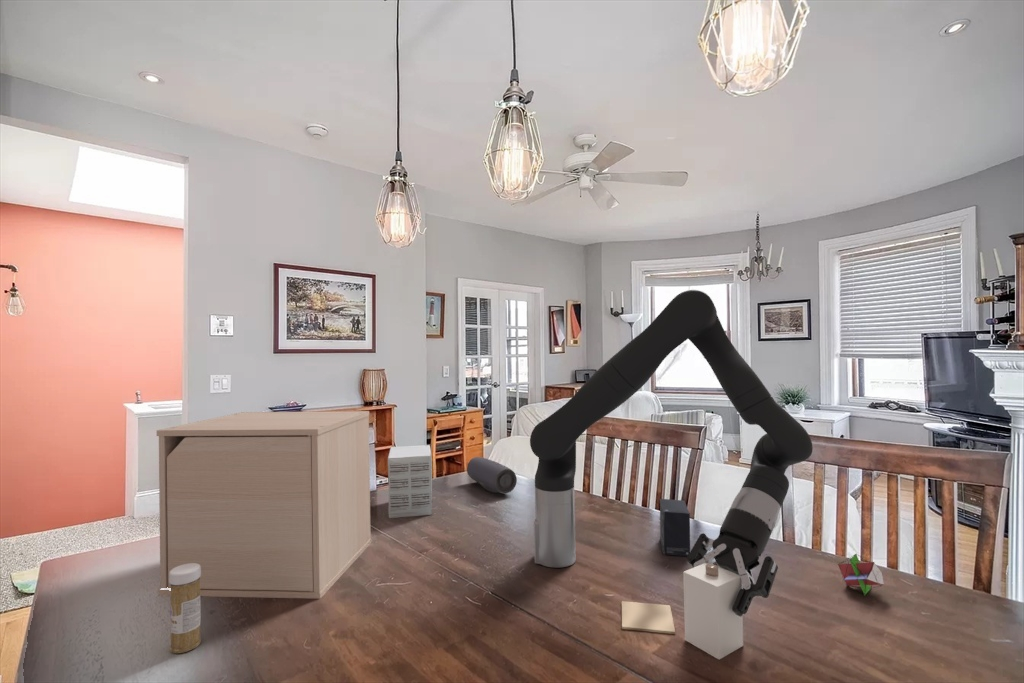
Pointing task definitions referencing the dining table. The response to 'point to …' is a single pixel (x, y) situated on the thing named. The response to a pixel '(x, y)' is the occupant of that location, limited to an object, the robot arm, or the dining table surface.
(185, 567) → the sprinkles bottle
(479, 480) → the bluetooth speaker
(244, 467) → the cabinet
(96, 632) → the dining table surface
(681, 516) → the small box
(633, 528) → the dining table surface
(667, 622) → the coaster
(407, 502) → the supplement box
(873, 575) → the geometric puzzle
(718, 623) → the white knobbed pillar
